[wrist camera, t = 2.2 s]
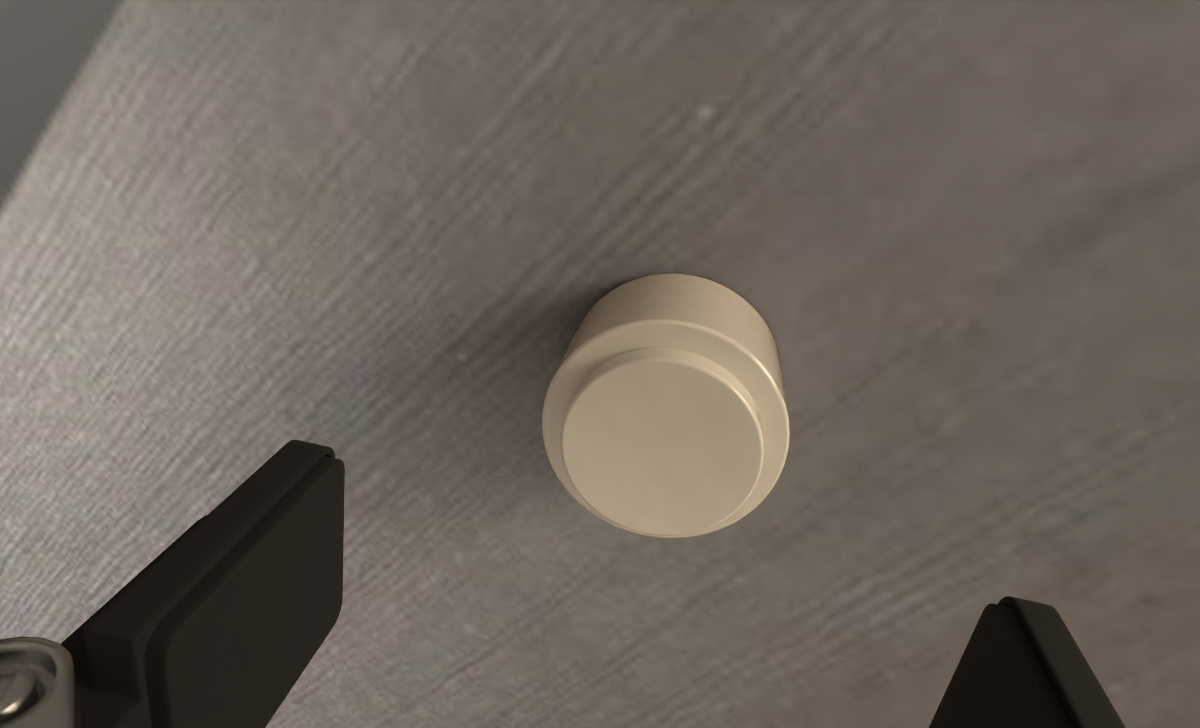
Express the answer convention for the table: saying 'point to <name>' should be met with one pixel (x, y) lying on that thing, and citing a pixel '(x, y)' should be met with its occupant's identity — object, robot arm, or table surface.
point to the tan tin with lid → (668, 408)
